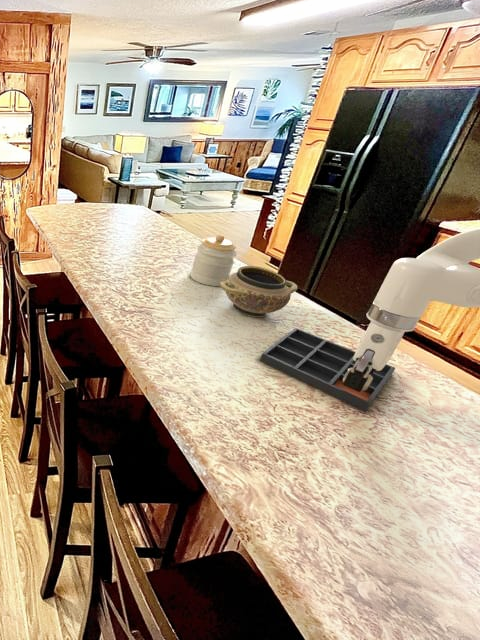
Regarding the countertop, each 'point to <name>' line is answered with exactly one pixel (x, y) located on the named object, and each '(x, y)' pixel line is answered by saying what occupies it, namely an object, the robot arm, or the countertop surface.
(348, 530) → the countertop surface
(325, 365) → the grid
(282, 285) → the ceramic bowl
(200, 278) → the jar
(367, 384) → the cylinder
